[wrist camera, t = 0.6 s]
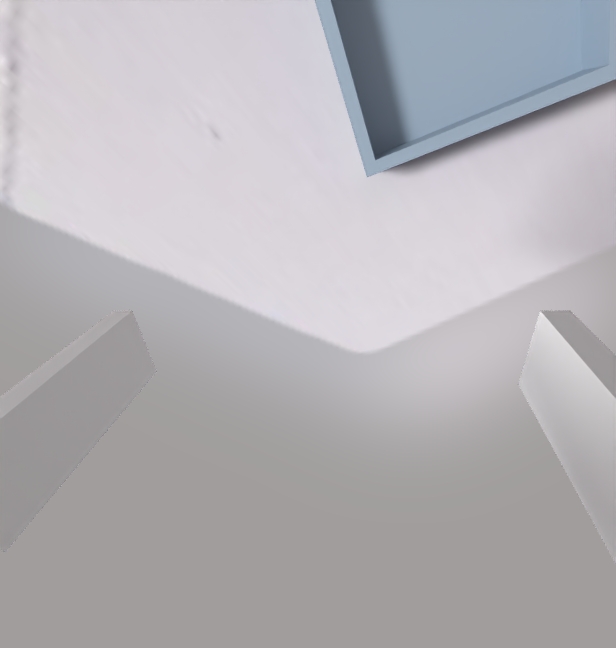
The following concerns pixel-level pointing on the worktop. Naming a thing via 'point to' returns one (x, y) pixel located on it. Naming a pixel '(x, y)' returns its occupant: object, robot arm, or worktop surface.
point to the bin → (459, 66)
